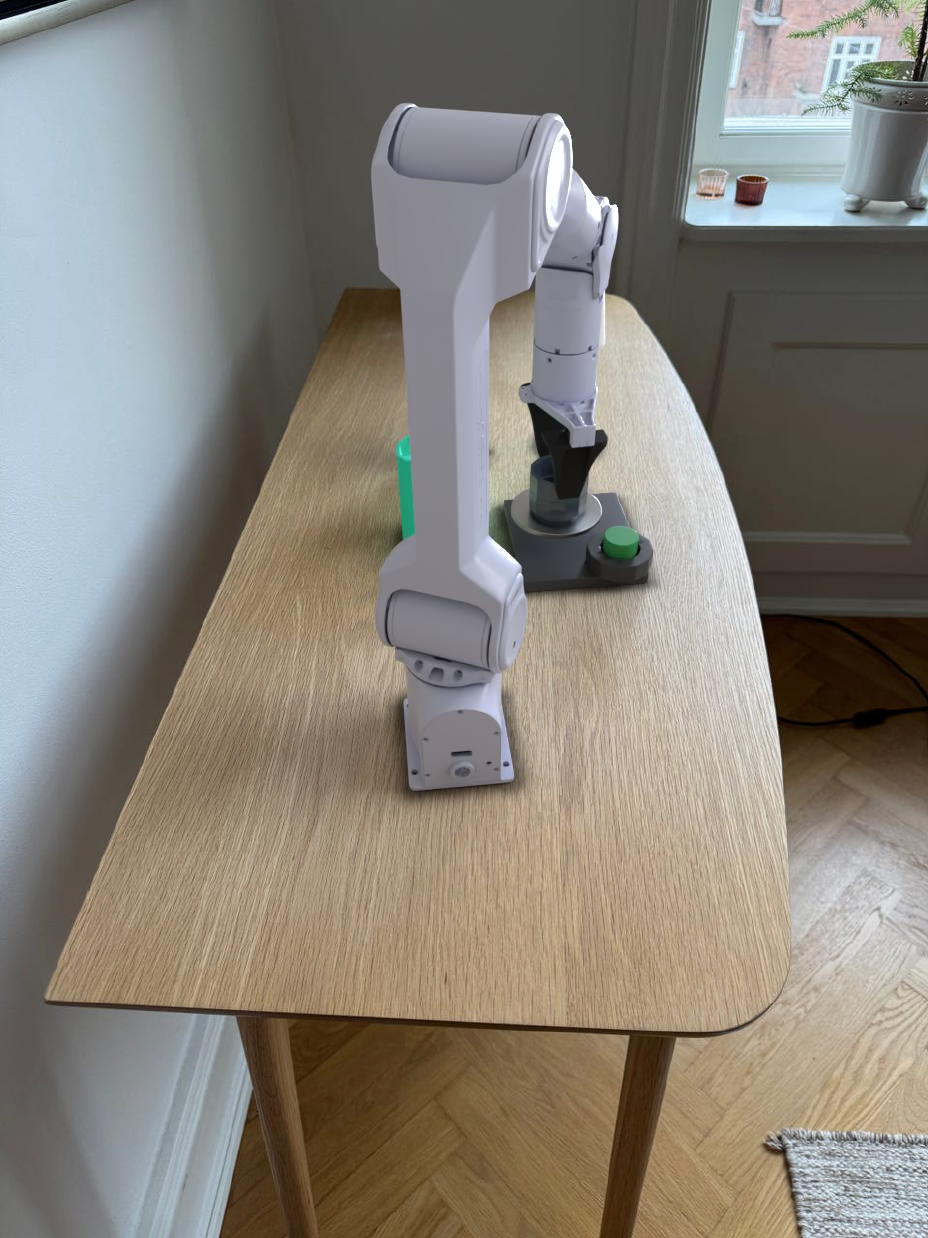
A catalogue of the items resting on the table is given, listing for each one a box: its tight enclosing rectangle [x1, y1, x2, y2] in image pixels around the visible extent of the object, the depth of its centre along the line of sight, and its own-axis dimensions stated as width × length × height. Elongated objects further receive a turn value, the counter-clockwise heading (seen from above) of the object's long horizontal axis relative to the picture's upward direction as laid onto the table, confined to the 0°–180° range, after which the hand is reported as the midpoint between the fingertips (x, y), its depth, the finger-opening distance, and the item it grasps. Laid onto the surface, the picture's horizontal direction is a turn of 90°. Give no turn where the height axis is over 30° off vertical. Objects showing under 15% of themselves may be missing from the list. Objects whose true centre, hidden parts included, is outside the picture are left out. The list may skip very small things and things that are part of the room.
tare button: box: [603, 526, 639, 560], centre depth 86 cm, size 3×3×2 cm
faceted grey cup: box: [529, 455, 590, 522], centre depth 89 cm, size 6×6×4 cm
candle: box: [395, 435, 415, 541], centre depth 89 cm, size 6×6×12 cm
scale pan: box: [511, 487, 602, 539], centre depth 91 cm, size 9×9×1 cm
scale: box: [503, 492, 655, 593], centre depth 91 cm, size 15×12×3 cm
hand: (558, 475), depth 88 cm, fingers open, 7 cm apart
